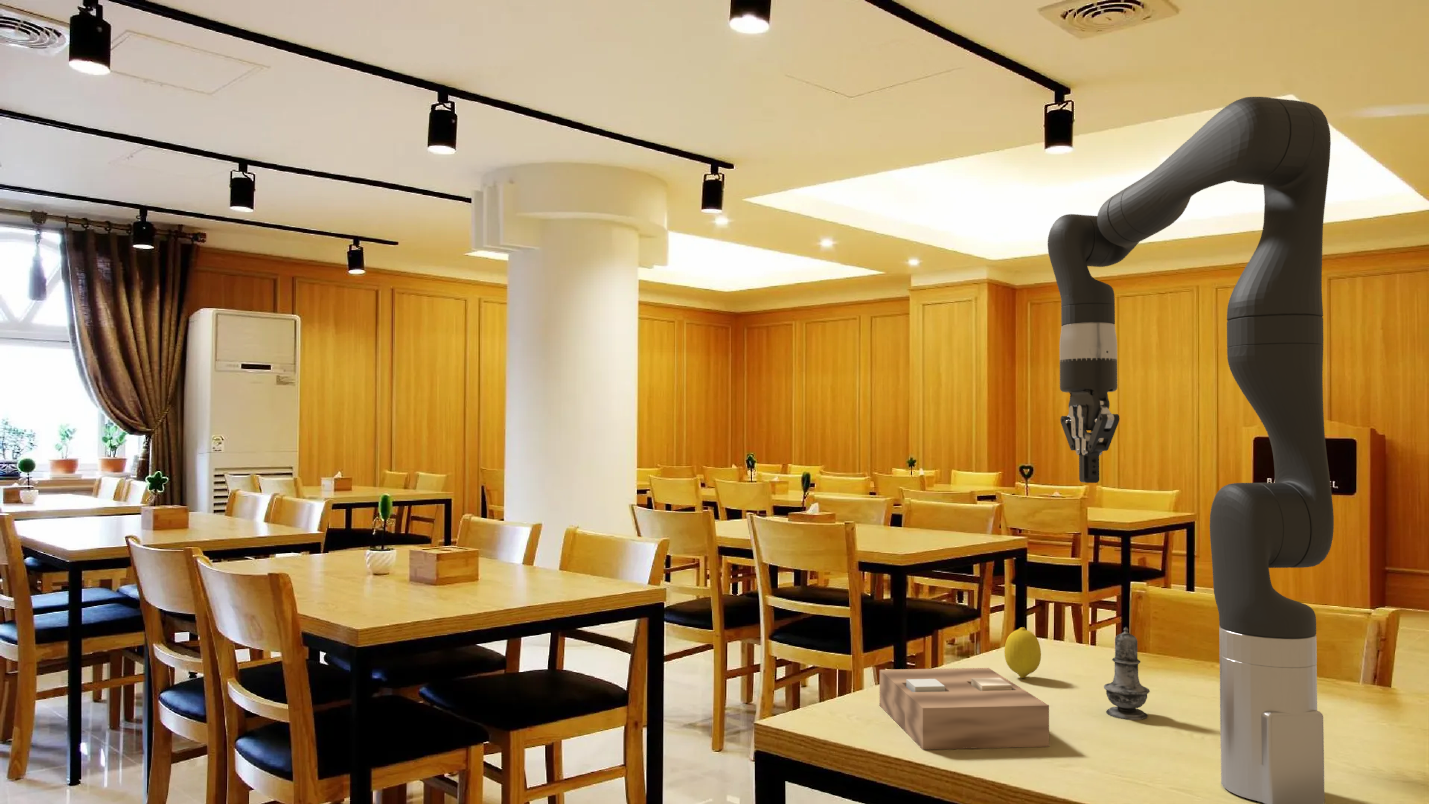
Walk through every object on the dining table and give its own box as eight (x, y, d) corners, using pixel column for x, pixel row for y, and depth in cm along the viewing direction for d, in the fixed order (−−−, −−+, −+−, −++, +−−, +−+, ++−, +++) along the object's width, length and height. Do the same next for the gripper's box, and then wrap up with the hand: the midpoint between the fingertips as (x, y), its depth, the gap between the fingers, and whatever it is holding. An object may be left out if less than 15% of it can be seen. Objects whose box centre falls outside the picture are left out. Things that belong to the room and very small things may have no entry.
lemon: (997, 676, 159) (997, 625, 159) (1024, 672, 161) (1023, 623, 161) (1021, 683, 154) (1021, 631, 154) (1048, 680, 156) (1048, 629, 156)
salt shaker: (1154, 721, 133) (1153, 631, 134) (1108, 718, 135) (1107, 629, 135) (1144, 709, 139) (1143, 623, 140) (1100, 707, 140) (1099, 622, 141)
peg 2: (1011, 723, 130) (1011, 685, 130) (982, 724, 130) (982, 685, 130) (1000, 715, 134) (999, 677, 134) (971, 715, 134) (971, 678, 134)
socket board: (1049, 746, 122) (1049, 705, 122) (922, 749, 121) (922, 708, 121) (988, 703, 142) (988, 667, 142) (879, 705, 141) (879, 669, 141)
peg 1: (945, 725, 129) (945, 686, 129) (915, 725, 129) (915, 686, 129) (935, 716, 133) (935, 678, 133) (906, 716, 133) (906, 679, 133)
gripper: (1138, 354, 132) (1140, 484, 131) (1090, 361, 145) (1091, 480, 144) (1085, 353, 131) (1086, 484, 130) (1041, 361, 144) (1042, 480, 144)
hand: (1089, 482), depth 137 cm, fingers closed
